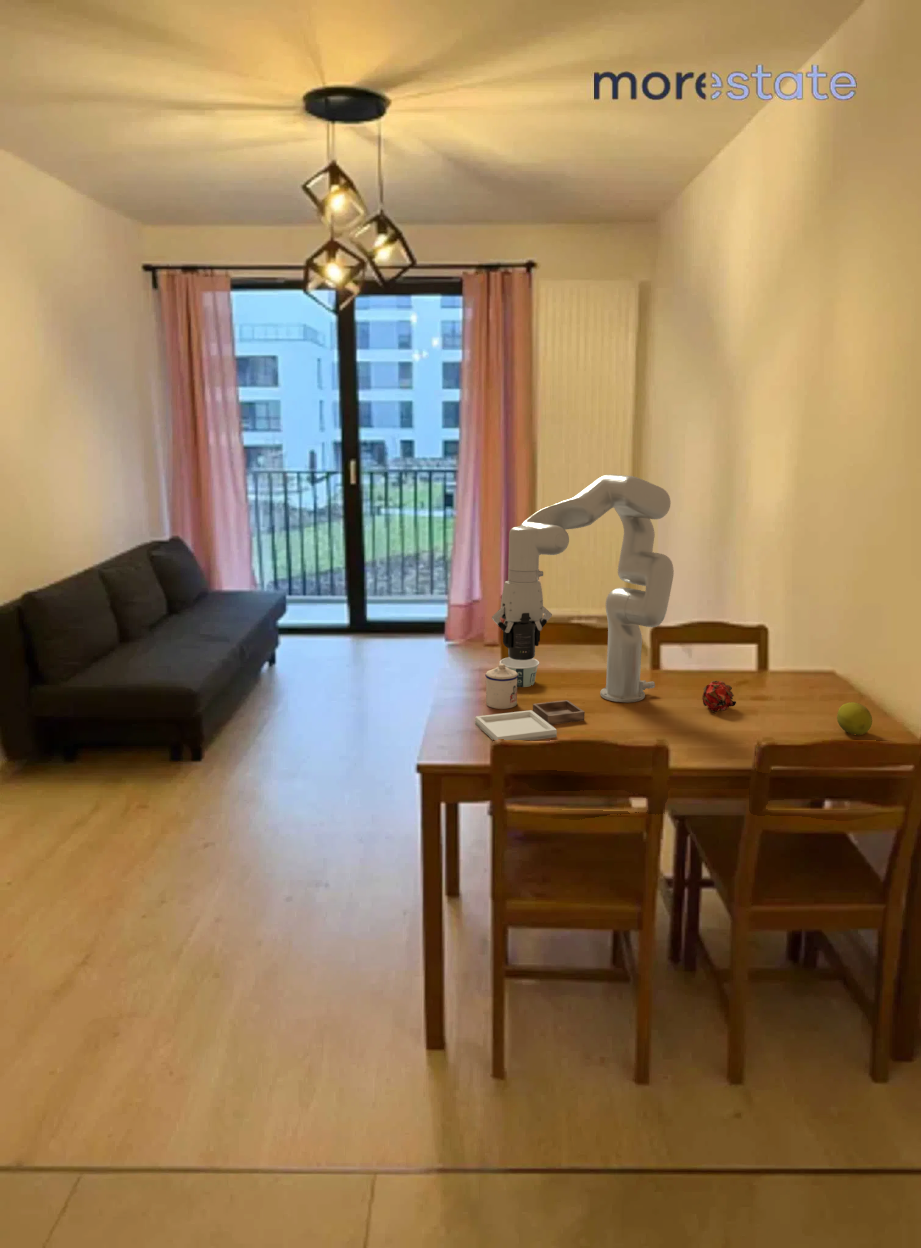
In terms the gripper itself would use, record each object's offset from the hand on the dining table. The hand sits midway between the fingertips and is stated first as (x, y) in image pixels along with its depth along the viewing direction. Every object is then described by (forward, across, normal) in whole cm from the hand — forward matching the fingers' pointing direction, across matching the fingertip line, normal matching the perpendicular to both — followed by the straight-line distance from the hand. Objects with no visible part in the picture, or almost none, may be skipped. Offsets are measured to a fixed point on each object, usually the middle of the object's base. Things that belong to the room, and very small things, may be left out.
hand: (521, 645), depth 231 cm
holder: (+22, -14, -6) cm, 27 cm away
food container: (+22, -16, -38) cm, 46 cm away
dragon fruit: (+22, -58, +4) cm, 62 cm away
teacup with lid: (+22, -4, -22) cm, 31 cm away
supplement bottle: (+3, 0, 0) cm, 3 cm away
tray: (+22, +1, 0) cm, 22 cm away
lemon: (+22, -80, +30) cm, 88 cm away
